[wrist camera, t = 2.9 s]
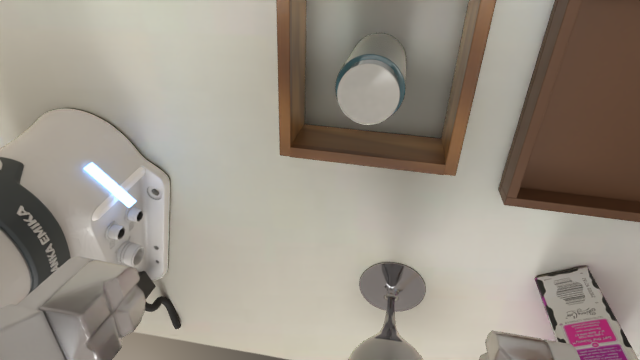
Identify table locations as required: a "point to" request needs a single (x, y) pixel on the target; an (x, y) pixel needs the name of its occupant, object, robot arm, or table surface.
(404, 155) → the open square wooden box
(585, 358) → the candy bar box
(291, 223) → the table surface
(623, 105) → the tray
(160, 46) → the table surface
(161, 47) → the table surface
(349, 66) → the salt shaker
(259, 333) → the table surface
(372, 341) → the wine glass
